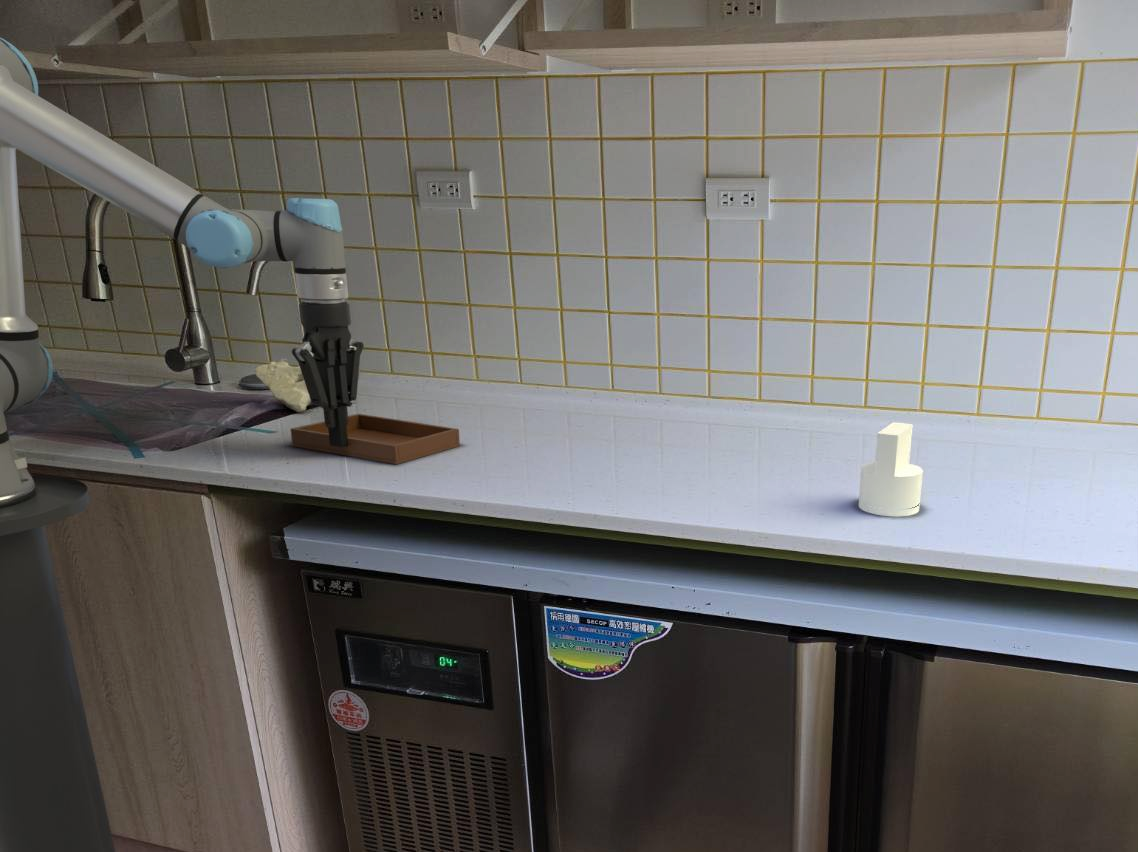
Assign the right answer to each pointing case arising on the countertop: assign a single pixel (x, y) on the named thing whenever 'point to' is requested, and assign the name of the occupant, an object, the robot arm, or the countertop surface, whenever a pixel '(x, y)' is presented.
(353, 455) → the tray
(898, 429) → the cylinder with rectangular tab
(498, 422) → the countertop surface
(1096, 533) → the countertop surface
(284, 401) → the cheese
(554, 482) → the countertop surface
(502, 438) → the countertop surface
